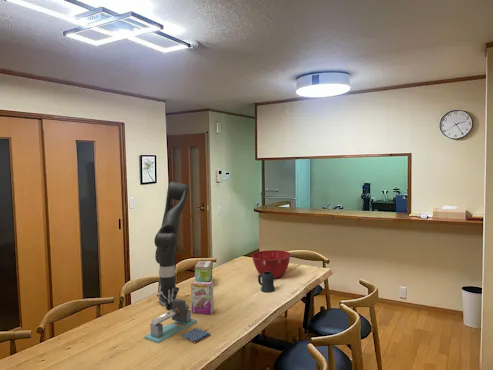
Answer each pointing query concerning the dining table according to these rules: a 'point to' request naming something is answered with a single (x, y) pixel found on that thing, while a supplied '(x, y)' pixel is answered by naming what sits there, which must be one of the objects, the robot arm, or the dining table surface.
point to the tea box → (203, 271)
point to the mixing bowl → (271, 262)
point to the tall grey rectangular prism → (182, 310)
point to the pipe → (157, 327)
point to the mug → (267, 282)
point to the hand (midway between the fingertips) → (169, 309)
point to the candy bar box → (202, 297)
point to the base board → (170, 330)
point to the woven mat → (195, 335)
